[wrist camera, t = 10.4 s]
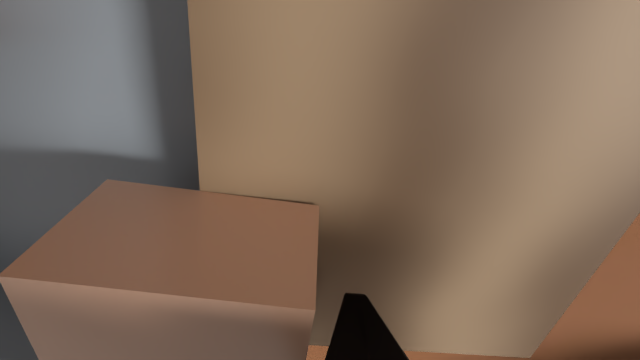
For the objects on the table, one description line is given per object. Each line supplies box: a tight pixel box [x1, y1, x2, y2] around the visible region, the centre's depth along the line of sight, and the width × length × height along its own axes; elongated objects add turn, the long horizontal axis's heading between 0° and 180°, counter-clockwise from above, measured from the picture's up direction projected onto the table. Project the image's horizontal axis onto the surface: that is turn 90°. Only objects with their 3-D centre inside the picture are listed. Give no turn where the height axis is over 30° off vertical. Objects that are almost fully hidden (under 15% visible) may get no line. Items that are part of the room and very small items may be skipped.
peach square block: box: [0, 179, 319, 360], centre depth 8 cm, size 5×5×3 cm
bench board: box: [187, 0, 640, 358], centre depth 9 cm, size 11×14×2 cm
